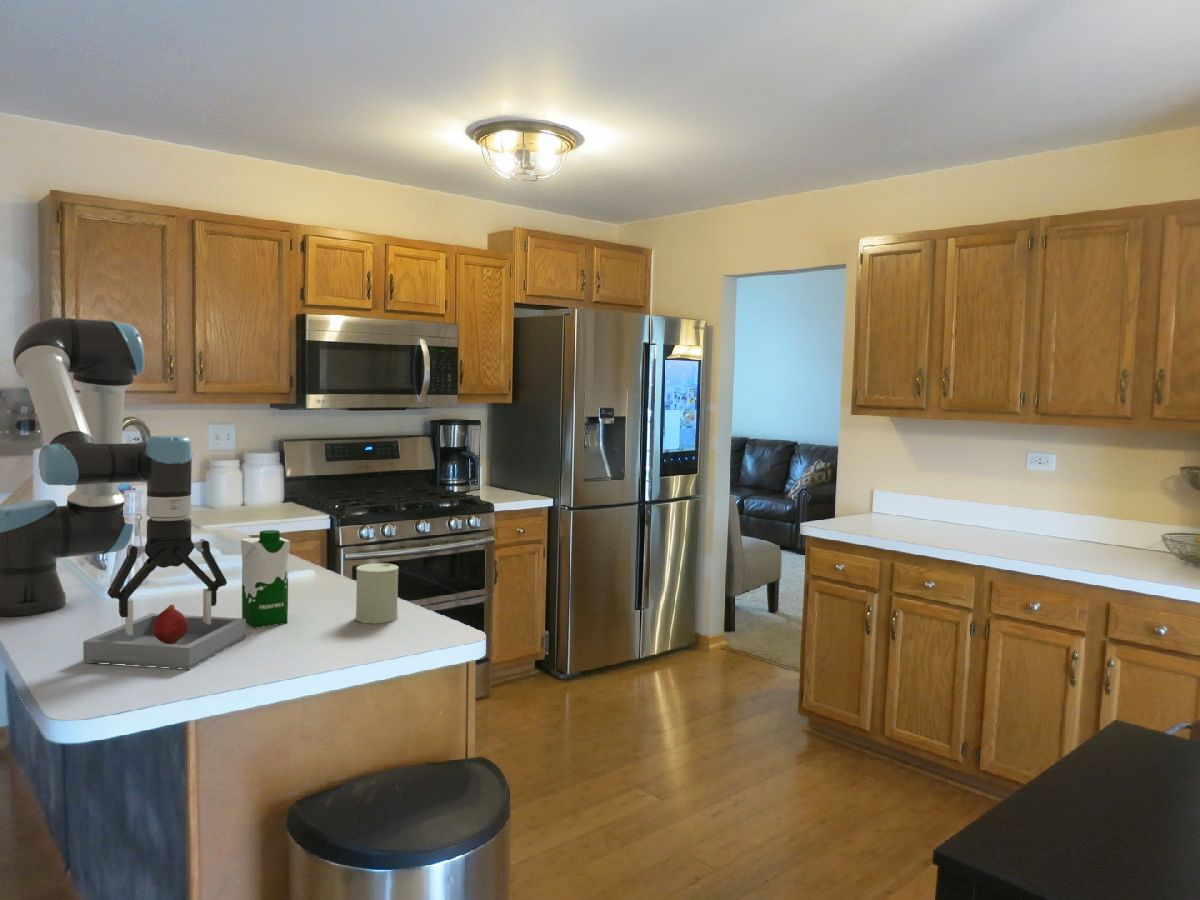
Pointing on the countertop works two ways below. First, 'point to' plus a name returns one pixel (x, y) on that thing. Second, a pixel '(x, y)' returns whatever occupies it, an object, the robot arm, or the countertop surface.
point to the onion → (170, 625)
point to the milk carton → (265, 579)
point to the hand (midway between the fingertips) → (169, 628)
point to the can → (377, 593)
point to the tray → (152, 652)
